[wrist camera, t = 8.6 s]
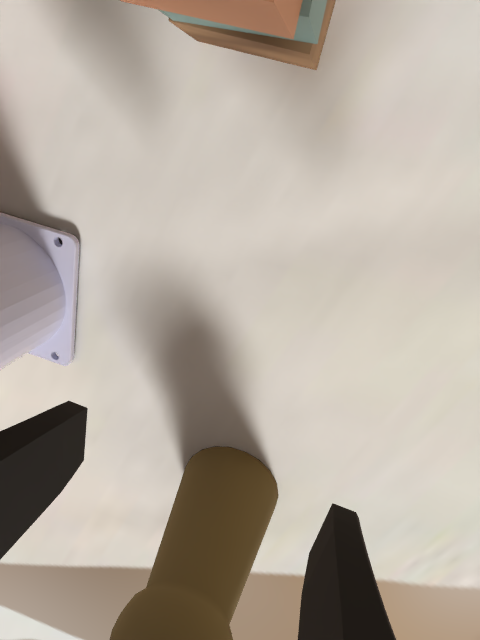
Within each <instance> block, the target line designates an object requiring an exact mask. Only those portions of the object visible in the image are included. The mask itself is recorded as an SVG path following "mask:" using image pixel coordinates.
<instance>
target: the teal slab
mask: <svg viewBox="0 0 480 640" xmlns="http://www.w3.org/2000/svg"><path fill="white" fill-rule="evenodd" d="M326 3H327V0H303V1H302V5H301V9H300V14H299V18H298V22H297V26H296V31H295V35H294V39H289V38H285V37H280V36H276V35H271V34H267V33H262V32H258V31H253V30H249V29H244V28H240V27H235V26H231V25H226V24H222V23H217V22H213V21H208V20H204V19H199V18H195V17H190V16H186V15H181V14H177V13H172V12H168V11H163V10H159V9H158V10H159V11H161V12H162V13H163V14H165V15H166V16H168V17H169V18H170V19H172V20H173V21H179V22H185V23H191V24H197V25H203V26H210V27H216V28H222V29H228V30H234V31H240V32H246V33H252V34H258V35H264V36H270V37H276V38H282V39H289V40H295V41H301V42H307V43H313V44H318V40H319V35H320V31H321V26H322V22H323V17H324V12H325V8H326Z"/></svg>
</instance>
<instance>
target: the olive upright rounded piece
mask: <svg viewBox="0 0 480 640" xmlns="http://www.w3.org/2000/svg"><path fill="white" fill-rule="evenodd" d="M277 499H278V489H277V483H276V481H275V479H274V477H273V476H272V474H271V472H270V471H269V470H268V469H267V468H266V467H265V465H264V464H263V463H262V462H261V461H260V460H258V459H256V458H255V457H253V456H251V455H250V454H248V453H246V452H244V451H241V450H238V449H234V448H231V447H211V448H207V449H203V450H201V451H199V452H198V453H196V454H195V455H194V456H192V457H191V459H190V461H189V462H188V464H187V465H186V468H185V471H184V474H183V477H182V480H181V483H180V486H179V489H178V492H177V495H176V498H175V501H174V504H173V507H172V510H171V514H170V517H169V520H168V523H167V526H166V529H165V532H164V535H163V538H162V541H161V544H160V547H159V550H158V553H157V556H156V559H155V562H154V565H153V568H152V572H151V575H150V578H149V581H148V584H147V587H146V588H145V589H144V590H142V591H140V592H138V593H137V594H135V595H134V597H133V598H132V599H131V600H130V602H129V603H128V604H127V606H126V607H125V608H124V609H123V611H122V612H121V614H120V616H119V617H118V619H117V621H116V623H115V625H114V627H113V629H112V633H111V637H110V640H233V638H232V633H231V630H230V626H229V624H230V622H231V619H232V616H233V614H234V611H235V609H236V606H237V603H238V601H239V598H240V596H241V593H242V591H243V588H244V586H245V583H246V581H247V578H248V576H249V573H250V570H251V568H252V565H253V563H254V560H255V558H256V555H257V552H258V550H259V547H260V545H261V542H262V540H263V537H264V535H265V532H266V529H267V527H268V524H269V522H270V519H271V517H272V514H273V511H274V509H275V506H276V503H277Z"/></svg>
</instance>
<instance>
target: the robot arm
mask: <svg viewBox="0 0 480 640" xmlns="http://www.w3.org/2000/svg"><path fill="white" fill-rule="evenodd" d="M59 238H61V240H62V242H63V244H62V245H61V244H60V242H59ZM78 265H79V241H78V239H77V238H76V237H75V236H74V235H72V234H70V233H66V232H63V231H60V230H57V229H53V228H50V227H47V226H44V225H40V224H37V223H34V222H31V221H27V220H24V219H21V218H18V217H14V216H11V215H8V214H4V213H1V212H0V370H1V369H3V368H5V367H6V366H8V365H9V364H11V363H12V362H14V361H16V360H17V359H19V358H20V357H22V356H24V355H25V354H27V353H29V354H32V355H35V356H38V357H40V358H43V359H46V360H49V361H52V362H54V363H57V364H60V365H63V366H67V365H69V364H70V363H72V362H73V359H74V342H75V323H76V304H77V285H78ZM56 353H57V354H58V356H57V355H56ZM86 421H87V408H86V407H83V406H81V405H78V404H76V403H73V402H71V401H67V402H65V403H63V404H60V405H58V406H56V407H54V408H52V409H49V410H47V411H45V412H43V413H41V414H38V415H36V416H34V417H32V418H30V419H27V420H25V421H23V422H21V423H18V424H16V425H14V426H12V427H9V428H7V429H5V430H2V431H0V559H1V558H2V557H3V556H4V555H5V554H6V553H7V552H8V550H9V549H10V548H11V547H12V546H13V545H14V544H15V543H16V542H17V540H18V539H19V538H20V537H21V536H22V535H23V534H24V533H25V532H26V531H27V529H28V528H29V527H30V526H31V525H32V524H33V523H34V522H35V521H36V520H37V518H38V517H39V516H40V515H41V514H42V513H43V512H44V511H45V510H46V508H47V507H48V506H49V505H50V504H51V503H52V502H53V501H54V499H55V498H56V497H57V496H58V495H59V494H60V493H61V491H62V490H63V489H64V487H65V486H66V485H67V483H68V482H69V481H70V479H71V478H72V476H73V475H74V474H75V472H76V471H77V469H78V468H79V466H80V465H81V463H82V462H83V461H84V449H85V435H86ZM301 598H302V599H301V608H300V620H299V632H298V633H299V634H298V640H396V638H395V636H394V633H393V630H392V628H391V625H390V622H389V619H388V616H387V614H386V611H385V608H384V605H383V602H382V599H381V596H380V593H379V590H378V587H377V583H376V580H375V577H374V574H373V571H372V567H371V564H370V560H369V557H368V553H367V550H366V546H365V542H364V538H363V535H362V531H361V527H360V522H359V518H358V516H357V514H356V512H354V511H351V510H348V509H346V508H343V507H341V506H338V505H336V504H332V506H331V508H330V510H329V512H328V514H327V516H326V519H325V521H324V523H323V525H322V527H321V529H320V531H319V534H318V536H317V538H316V540H315V542H314V544H313V546H312V549H311V551H310V553H309V558H308V563H307V568H306V573H305V579H304V585H303V590H302V597H301Z"/></svg>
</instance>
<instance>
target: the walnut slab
mask: <svg viewBox="0 0 480 640" xmlns="http://www.w3.org/2000/svg"><path fill="white" fill-rule="evenodd" d="M335 1H336V0H327V3H326V8H325V12H324V17H323V22H322V26H321V31H320V35H319V40H318V44H313V43H307V42H301V41H295V40H289V39H282V38H276V37H270V36H264V35H258V34H252V33H246V32H240V31H234V30H228V29H222V28H216V27H210V26H203V25H197V24H191V23H185V22H179V21H173V20H172V19H170V18H169V21H170V22H171V23H173V24H174V25H175V26H177V27H178V28H180V29H181V30H182V31H184V32H185V33H187V34H188V35H190V36H191V37H192V38H194V39H195V40H197V41H199V42H204V43H208V44H212V45H216V46H220V47H224V48H228V49H232V50H236V51H240V52H244V53H248V54H252V55H257V56H261V57H265V58H269V59H273V60H277V61H281V62H285V63H289V64H293V65H297V66H301V67H305V68H310V69H314V70H317V66H318V63H319V59H320V55H321V52H322V48H323V45H324V41H325V37H326V34H327V30H328V26H329V23H330V19H331V16H332V12H333V8H334V5H335Z"/></svg>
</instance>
